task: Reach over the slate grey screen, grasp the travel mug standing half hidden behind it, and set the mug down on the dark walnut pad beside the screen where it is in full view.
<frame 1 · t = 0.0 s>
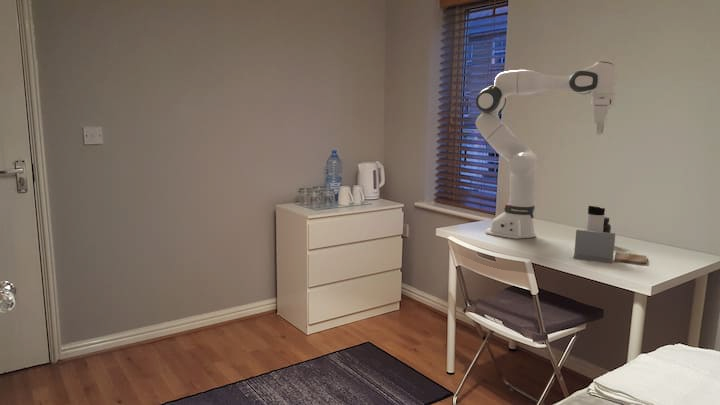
hand: (599, 133, 225), 48 cm above the table, tool pointing down, fingers open, 8 cm apart
walnut pad: (630, 259, 208), on the table
travel mug: (592, 254, 216), on the table
slate screen: (593, 258, 209), on the table
supplement bottle: (600, 244, 232), on the table
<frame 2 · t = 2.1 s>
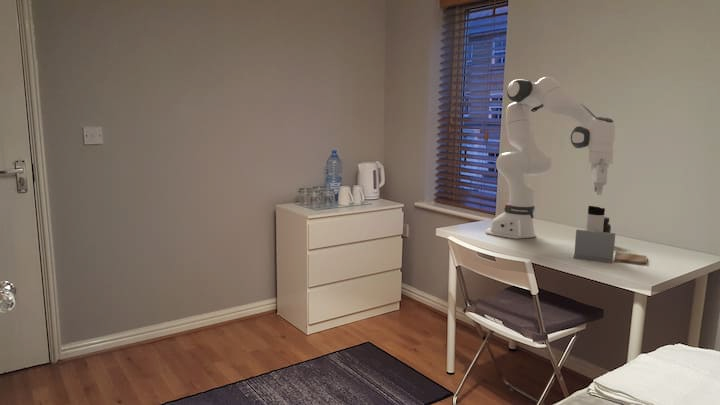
hand: (597, 193, 211), 25 cm above the table, tool pointing down, fingers open, 8 cm apart
nothing on the table moved.
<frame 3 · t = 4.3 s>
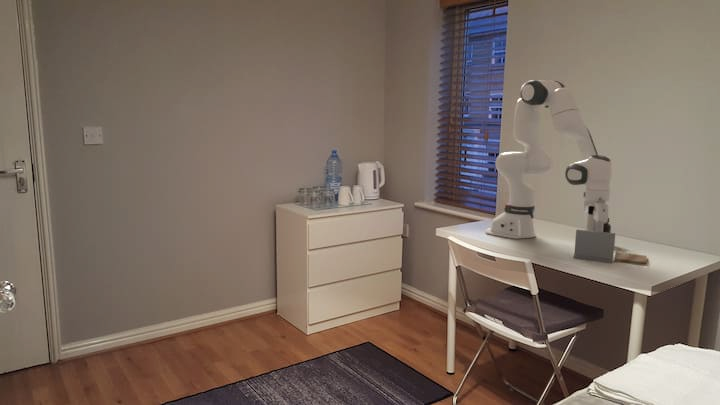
hand: (594, 229, 214), 10 cm above the table, tool pointing down, fingers closed on travel mug, 6 cm apart
travel mug: (592, 254, 216), on the table, touching gripper
everything else where it was.
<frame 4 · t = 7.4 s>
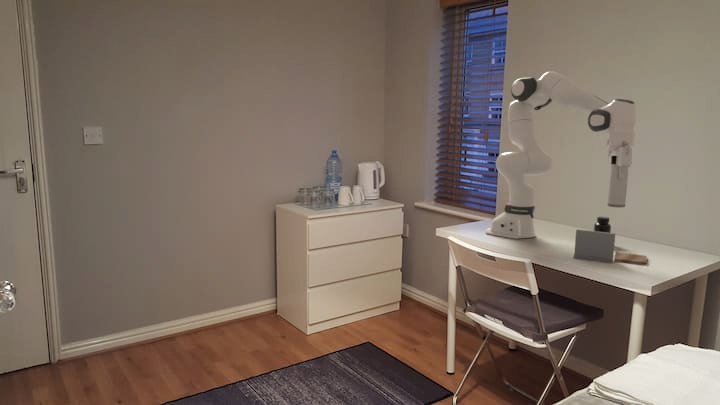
hand: (618, 177, 206), 32 cm above the table, tool pointing down, fingers closed on travel mug, 6 cm apart
travel mug: (615, 206, 208), point 20 cm above the table, touching gripper
everything else where it was.
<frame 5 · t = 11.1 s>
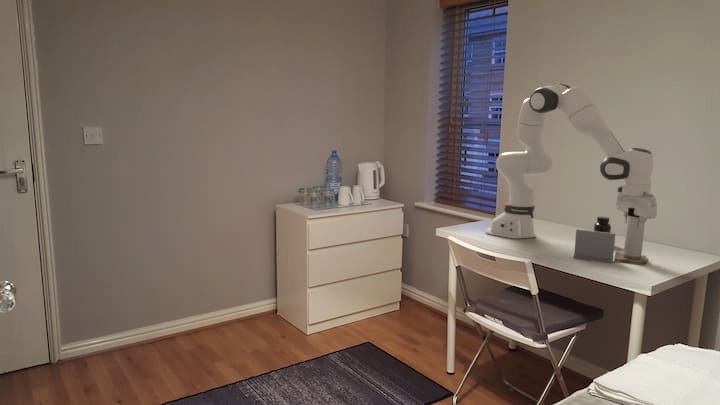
hand: (634, 225, 205), 14 cm above the table, tool pointing down, fingers closed on travel mug, 6 cm apart
travel mug: (631, 257, 207), point 1 cm above the table, touching gripper, walnut pad
everything else where it was.
when the fingers open (13 cm above the table, at t = 12.4 s): travel mug stays where it is, resting on walnut pad.
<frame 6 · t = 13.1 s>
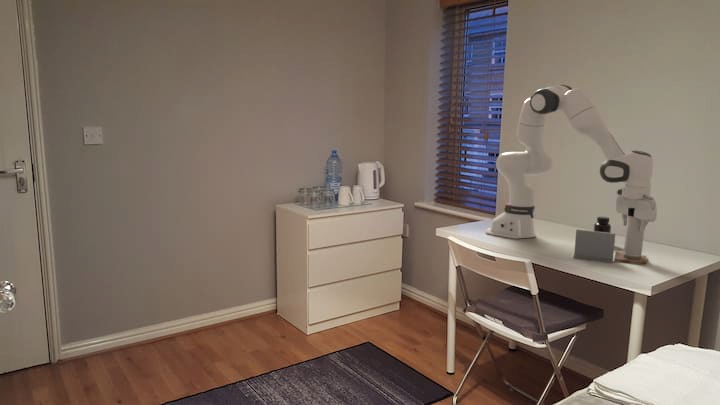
hand: (633, 228, 206), 13 cm above the table, tool pointing down, fingers open, 8 cm apart
travel mug: (631, 257, 207), point 1 cm above the table, touching walnut pad
everything else where it was.
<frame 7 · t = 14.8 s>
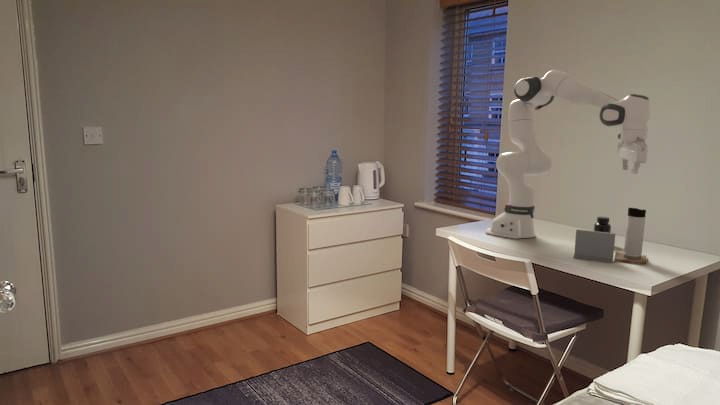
hand: (629, 171, 209), 34 cm above the table, tool pointing down, fingers open, 8 cm apart
nothing on the table moved.
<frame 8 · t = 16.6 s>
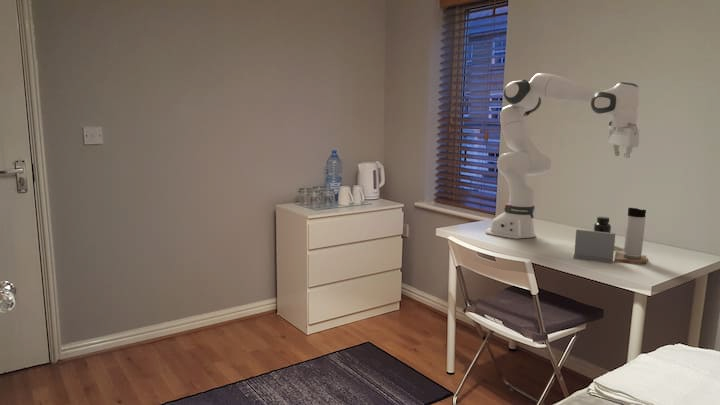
hand: (621, 156, 217), 39 cm above the table, tool pointing down, fingers open, 8 cm apart
nothing on the table moved.
at the end: travel mug inside the target area on the walnut pad (0.5 cm from its centre), point 0.8 cm above the walnut pad's base; travel mug tilted 0°; the gripper is holding nothing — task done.
